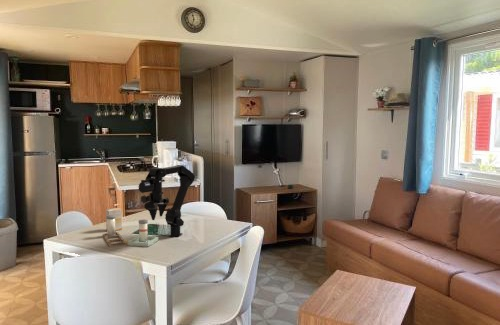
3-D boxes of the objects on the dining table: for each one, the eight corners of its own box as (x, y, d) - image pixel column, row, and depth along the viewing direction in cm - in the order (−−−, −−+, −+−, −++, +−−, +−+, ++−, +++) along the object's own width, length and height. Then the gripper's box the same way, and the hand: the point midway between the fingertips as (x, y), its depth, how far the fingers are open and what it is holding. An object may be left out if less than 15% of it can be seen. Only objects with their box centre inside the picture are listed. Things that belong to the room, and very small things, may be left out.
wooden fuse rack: (102, 235, 225) (102, 233, 225) (121, 233, 230) (121, 231, 230) (109, 246, 204) (109, 244, 204) (129, 243, 209) (129, 241, 209)
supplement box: (118, 228, 242) (118, 207, 241) (122, 229, 239) (121, 208, 237) (106, 230, 236) (105, 209, 235) (109, 231, 233) (108, 210, 232)
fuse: (110, 234, 226) (109, 214, 225) (117, 235, 225) (117, 215, 224) (105, 237, 222) (104, 216, 221) (112, 237, 221) (112, 217, 220)
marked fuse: (139, 240, 212) (139, 219, 211) (148, 240, 213) (148, 219, 212) (138, 243, 208) (137, 221, 206) (147, 243, 208) (146, 221, 207)
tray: (138, 239, 217) (138, 235, 217) (158, 240, 215) (158, 237, 215) (127, 245, 206) (127, 241, 206) (148, 247, 203) (148, 243, 203)
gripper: (151, 187, 222) (151, 213, 224) (134, 192, 204) (135, 221, 205) (169, 188, 220) (169, 214, 221) (154, 193, 202) (154, 222, 203)
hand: (157, 218), depth 213 cm, fingers open, 9 cm apart
